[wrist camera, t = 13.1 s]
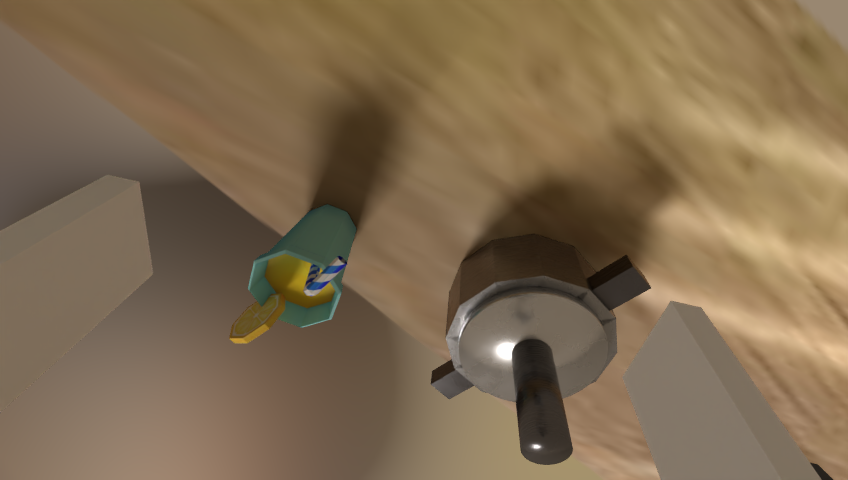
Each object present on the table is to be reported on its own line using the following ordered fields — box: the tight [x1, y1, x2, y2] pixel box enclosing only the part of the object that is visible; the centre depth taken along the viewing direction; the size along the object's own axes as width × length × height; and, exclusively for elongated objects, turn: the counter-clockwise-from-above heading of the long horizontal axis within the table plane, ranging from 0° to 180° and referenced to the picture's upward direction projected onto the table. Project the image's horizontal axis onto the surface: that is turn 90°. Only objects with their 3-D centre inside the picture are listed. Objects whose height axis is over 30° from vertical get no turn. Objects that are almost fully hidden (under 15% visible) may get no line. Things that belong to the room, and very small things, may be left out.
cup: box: [229, 204, 357, 343], centre depth 37 cm, size 14×8×15 cm, turn 136°
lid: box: [459, 287, 608, 465], centre depth 36 cm, size 13×13×10 cm
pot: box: [431, 234, 651, 399], centre depth 43 cm, size 23×15×7 cm, turn 134°
